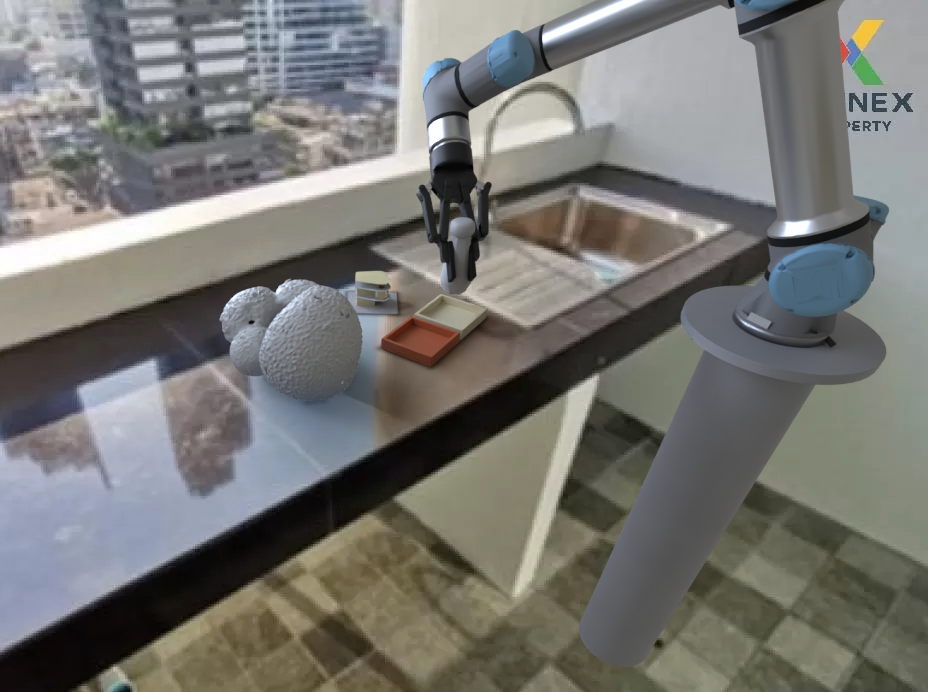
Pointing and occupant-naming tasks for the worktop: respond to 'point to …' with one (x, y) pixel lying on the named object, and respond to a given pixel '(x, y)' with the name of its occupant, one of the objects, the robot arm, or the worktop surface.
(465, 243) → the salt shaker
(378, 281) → the stacked layers on plate
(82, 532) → the worktop surface
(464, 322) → the ivory tray
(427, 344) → the terracotta tray
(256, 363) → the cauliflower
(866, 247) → the robot arm
